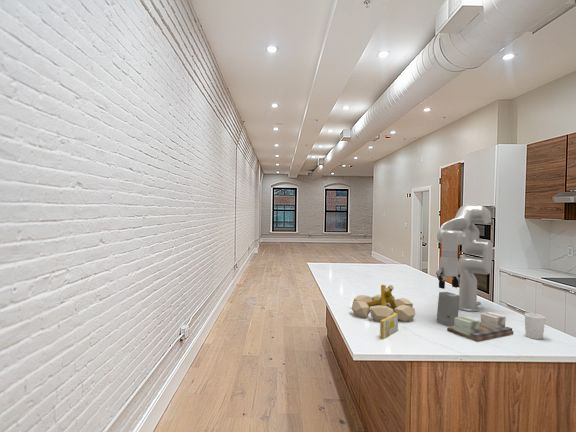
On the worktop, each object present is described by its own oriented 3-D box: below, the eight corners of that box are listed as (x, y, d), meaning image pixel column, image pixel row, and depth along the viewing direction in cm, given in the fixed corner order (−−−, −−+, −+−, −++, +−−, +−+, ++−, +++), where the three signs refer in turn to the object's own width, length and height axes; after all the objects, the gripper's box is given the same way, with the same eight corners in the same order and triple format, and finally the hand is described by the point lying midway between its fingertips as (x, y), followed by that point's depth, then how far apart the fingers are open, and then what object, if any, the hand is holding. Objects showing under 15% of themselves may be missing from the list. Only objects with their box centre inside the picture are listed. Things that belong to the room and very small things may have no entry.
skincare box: (436, 322, 188) (436, 292, 188) (445, 320, 191) (446, 291, 191) (449, 326, 180) (450, 295, 180) (459, 325, 183) (460, 294, 183)
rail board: (482, 324, 185) (482, 310, 185) (513, 334, 171) (513, 318, 171) (447, 330, 174) (447, 315, 174) (477, 341, 159) (477, 325, 159)
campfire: (419, 326, 180) (420, 293, 180) (350, 321, 187) (351, 288, 187) (409, 308, 215) (410, 280, 214) (352, 304, 221) (353, 276, 221)
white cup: (535, 340, 163) (536, 318, 163) (520, 334, 171) (520, 313, 171) (548, 339, 165) (549, 317, 165) (532, 333, 173) (533, 312, 173)
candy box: (394, 329, 174) (394, 312, 174) (398, 330, 173) (398, 313, 172) (379, 338, 161) (379, 320, 161) (384, 339, 160) (384, 321, 160)
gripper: (454, 253, 192) (453, 285, 192) (431, 254, 184) (430, 287, 184) (467, 255, 185) (466, 288, 185) (443, 255, 178) (442, 290, 178)
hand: (448, 287), depth 185 cm, fingers open, 9 cm apart
